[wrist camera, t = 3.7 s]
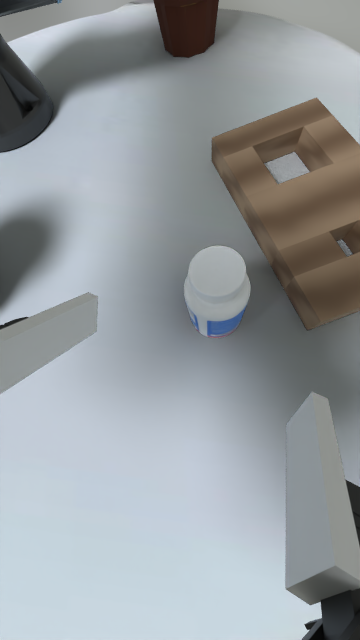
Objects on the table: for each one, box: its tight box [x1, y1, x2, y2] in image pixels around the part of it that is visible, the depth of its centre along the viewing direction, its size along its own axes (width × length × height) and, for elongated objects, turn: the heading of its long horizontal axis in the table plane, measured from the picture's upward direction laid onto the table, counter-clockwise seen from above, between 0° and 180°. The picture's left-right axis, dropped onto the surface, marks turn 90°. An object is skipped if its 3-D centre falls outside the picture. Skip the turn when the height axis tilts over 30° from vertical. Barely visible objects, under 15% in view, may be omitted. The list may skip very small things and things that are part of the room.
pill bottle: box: [184, 245, 251, 338], centre depth 20 cm, size 6×5×10 cm
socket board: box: [212, 98, 360, 330], centre depth 26 cm, size 26×14×3 cm, turn 20°
